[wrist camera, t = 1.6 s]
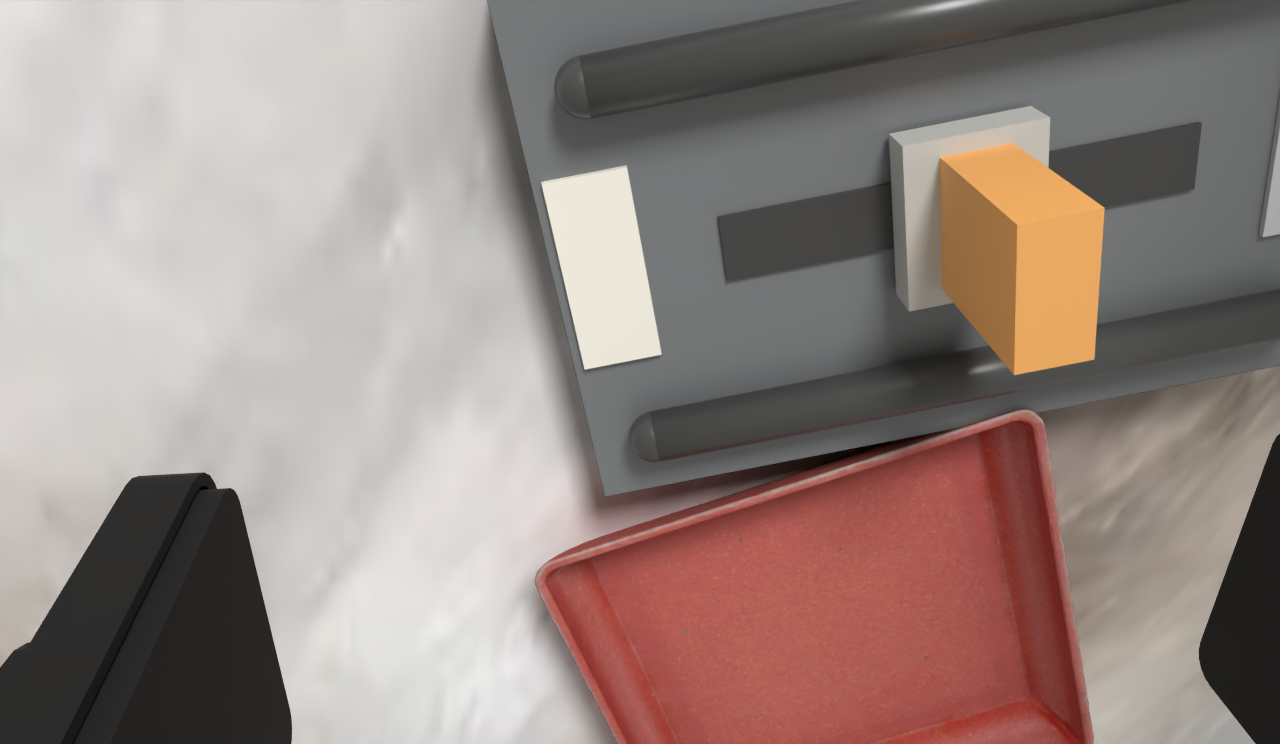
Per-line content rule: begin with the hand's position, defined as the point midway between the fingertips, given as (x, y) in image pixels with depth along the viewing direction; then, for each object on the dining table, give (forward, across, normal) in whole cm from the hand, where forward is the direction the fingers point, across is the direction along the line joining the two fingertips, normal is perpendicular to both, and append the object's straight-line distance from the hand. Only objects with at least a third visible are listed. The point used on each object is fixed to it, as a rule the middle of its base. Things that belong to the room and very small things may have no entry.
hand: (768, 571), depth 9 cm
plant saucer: (+23, -8, +22) cm, 33 cm away
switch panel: (+22, -10, +4) cm, 25 cm away
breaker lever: (+20, -10, +4) cm, 22 cm away
